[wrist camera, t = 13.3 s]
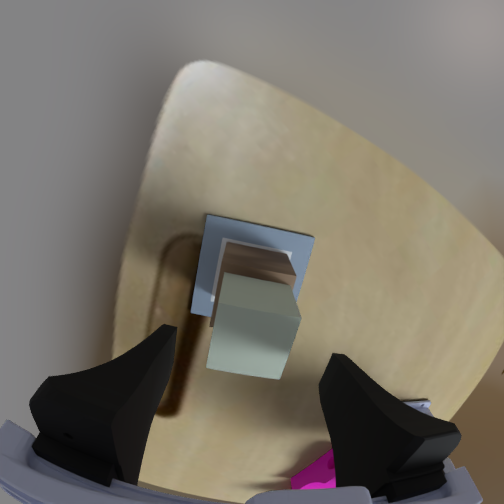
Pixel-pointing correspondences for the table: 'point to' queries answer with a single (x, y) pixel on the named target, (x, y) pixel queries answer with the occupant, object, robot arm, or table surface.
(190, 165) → the table surface
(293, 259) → the pad
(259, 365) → the sage cube
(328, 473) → the toy block
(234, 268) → the walnut cube
